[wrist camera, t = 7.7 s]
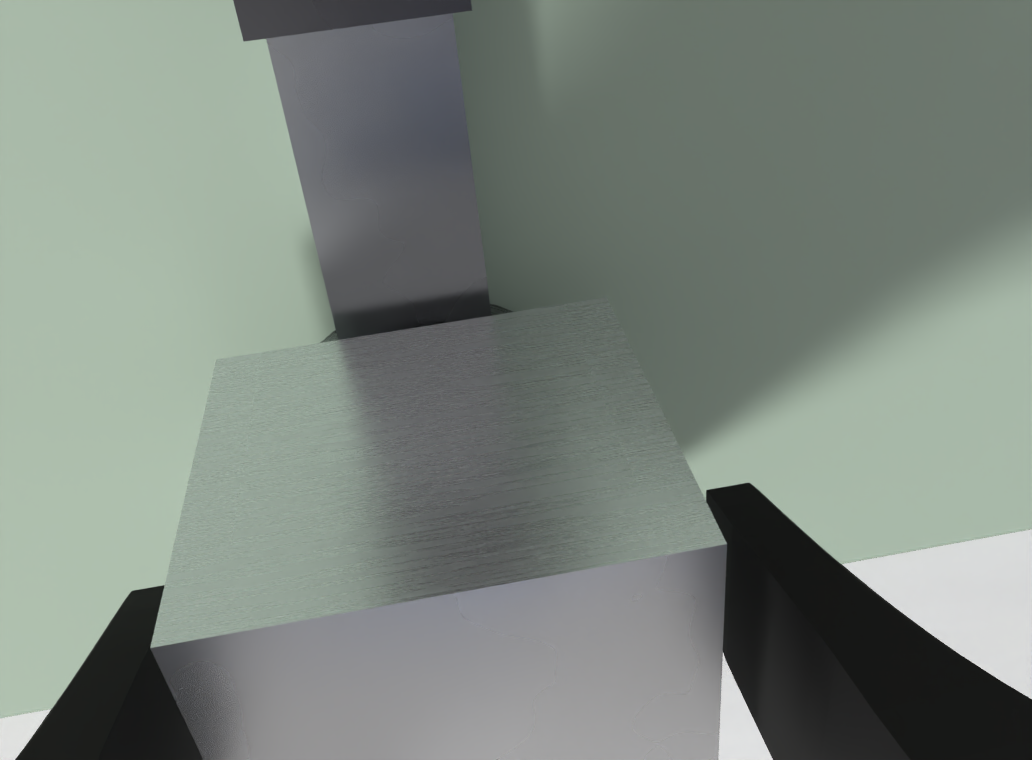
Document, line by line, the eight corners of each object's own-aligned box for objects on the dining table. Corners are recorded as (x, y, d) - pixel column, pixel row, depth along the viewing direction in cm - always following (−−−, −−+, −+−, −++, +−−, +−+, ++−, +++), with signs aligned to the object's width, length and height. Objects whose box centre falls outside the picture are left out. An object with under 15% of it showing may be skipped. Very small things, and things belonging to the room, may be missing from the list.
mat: (1905, -1509, 8) (2010, -1595, 7) (1154, 484, 20) (1175, 502, 20) (-1633, -1424, 6) (-1813, -1533, 6) (-83, 709, 18) (-95, 735, 18)
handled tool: (501, -883, 8) (608, -1356, 5) (594, 519, 17) (653, 701, 14) (-112, -843, 8) (-474, -1326, 4) (316, 568, 17) (308, 767, 14)
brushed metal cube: (606, 297, 13) (727, 543, 9) (619, 572, 16) (714, 851, 12) (215, 359, 13) (149, 647, 8) (305, 629, 16) (289, 940, 11)
